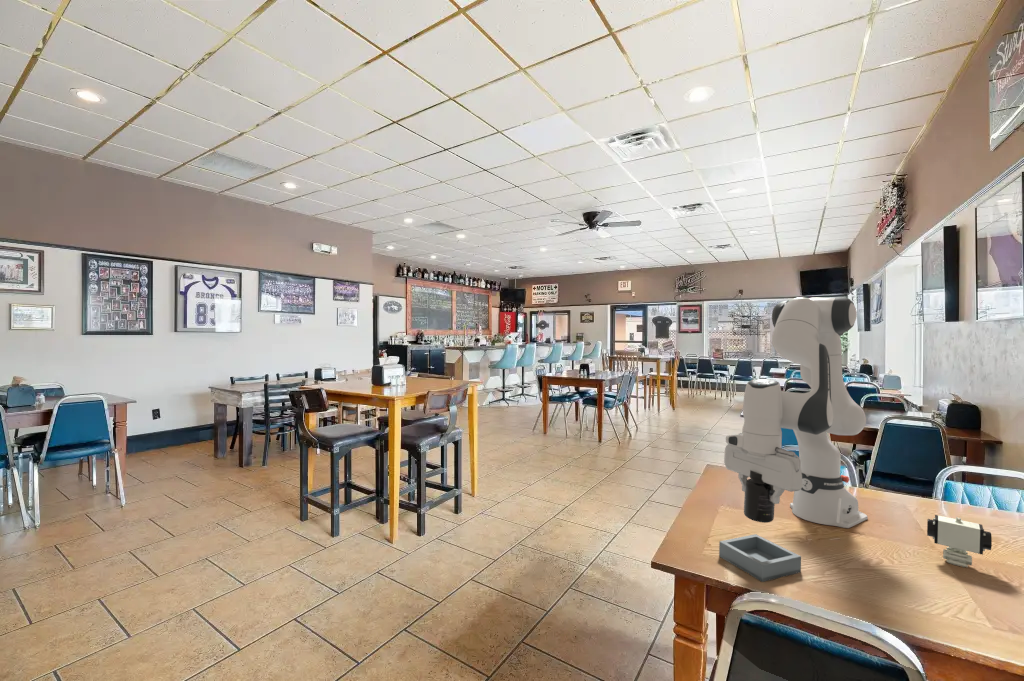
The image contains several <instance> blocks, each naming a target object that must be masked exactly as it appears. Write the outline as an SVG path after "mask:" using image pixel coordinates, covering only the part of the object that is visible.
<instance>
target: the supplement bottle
mask: <svg viewBox="0 0 1024 681" xmlns="http://www.w3.org/2000/svg"><path fill="white" fill-rule="evenodd" d="M774 492H775V490H773V485H770V484H767V483H764V482H763V480H762V474H759V473H757V472H754V471H752V470H750V477H749V479H748V478H747V481H746V482H745V492H744V495H743V496H744V497H743V498H744V499H743V501H744V502H743V513H744V514H743V515H744V516H745V517H746V518H748V519H749V520H751V521H753V522H757V523H763V524H765V523H766V524H767V523H771V522H773V521H774V519H775V506H776V504H774V503H771V502H770V501H769V499H770V498H769V495H773V494H774Z"/></svg>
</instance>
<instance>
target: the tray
mask: <svg viewBox="0 0 1024 681" xmlns="http://www.w3.org/2000/svg"><path fill="white" fill-rule="evenodd" d="M718 543H719V544H718V545H719V547H718V548H719V550H718V556H720V557H719V558H720V559H723V560H725V561H726V562H728V563H730V564H731V565H733V566H734V567H737V568H738V569H740V570H741V569H742V570H741V571H743V572H744V573H746V572H747V574H748V573H749V574H748V575H749V576H751V577H753V578H755V579H756V580H757V581H760V582H761V583H764V582H767V581H771V580H776V579H779V578H784V577H788V576H791V575H796V574H800V573H802V556H801V555H800V554H797V553H796V552H794V551H791V550H789V549H787V548H785V547H783V546H781V545H779V544H776V543H775V542H773V541H770V540H768V539H766V538H765V537H762V536H760V535H758V534H755V533H754V534H750V535H744V536H740V537H734V538H730V539H725V540H720V541H719V542H718Z"/></svg>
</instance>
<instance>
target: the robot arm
mask: <svg viewBox="0 0 1024 681" xmlns="http://www.w3.org/2000/svg"><path fill="white" fill-rule="evenodd" d="M856 309H857V308H856V306H855V304H854V302H853V301H852V300H851V299H850V298H848V297H842V296H836V297H810V298H808V297H805V296H804V297H794V298H792V299H789V300H784V301H783V300H782V301H781V302H777V304H776V305H775V306H774V307H773V309H772V313H771V320H772V322H771V323H772V325H773V332H772V336H771V343H772V347H773V349H774V350H775V351H776V353H777V354H779V355H780V356H781V357H782V358H784V359H786V360H788V361H790V362H792V363H796V364H798V365H800V378H801V379H802V381H803V382H805V384H807V385H808V386H809V387H810V391H807V392H803V393H802V392H793V391H783V390H782V387H781V384H780V382H779V381H777V380H774V379H769V378H758V379H755V378H754V379H752V380H750V381H748V382H747V383H746V385H745V390H744V395H743V404H742V415H743V420H744V421H743V422H744V423H743V426H742V433H741V432H740V433H738V434H731V435H727V436H726V437H725V443H726V445H725V447H724V456H723V457H724V458H723V459H724V460H723V462H724V463H723V464H724V466H725V468H726V470H729V471H732V472H734V473H737V474H738V480H739V481H740V483H741V490H742V492H743V493H745V482H746V481H747V480H748V478H750V470H752V471H754V472H757V473H759V474H762V480H763V482H764V483H767V484H770V485H773V490H775V492H774V494H773V495H769V498H770V499H769V501H770V502H771V503H774V504H775V505H779V504H780V501H781V499H780V497H781V496H782V495H783V494H784V492H785V491H788V492H791V493H792V492H793V497H792V502H790V503H789V507H790V508H791V512H792V513H793V515H795V516H796V517H798V518H800V519H803V520H805V521H808V522H811V523H816V524H821V525H826V526H835V527H839V528H842V529H843V528H844V529H850V528H852V527H854V526H856V525H858V524H860V523H862V522H864V521H866V520H868V519H869V518H868V515H867V514H866V513H864V512H862V511H860V510H859V501H858V499H857V497H855V495H853V494H852V493H851V492H850V491H848V490H847V489H846V488H845V485H844V483H846V484H848V483H849V482H850V477H849V476H848V475H844V474H841V458H842V457H841V452H840V450H839V448H838V447H837V446H836V445H835V444H834V443H833V442H832V441H831V440H830V438H829V435H828V434H832V435H836V436H856V435H858V434H859V433H861V432H862V431H863V430H864V428H865V426H866V424H867V416H866V414H865V411H864V410H863V408H862V407H861V406H860V405H859V404H858V403H856V401H855V400H853V398H852V397H851V395H850V393H849V391H848V390H847V387H846V385H845V382H844V378H843V363H842V362H843V359H842V358H843V357H842V356H843V355H842V352H843V351H842V342H841V336H843V335H844V333H846V332H848V331H850V330H851V329H852V328H853V327H854V326H855V323H856V321H857V318H858V316H857V315H858V314H857V313H858V312H857V310H856ZM782 429H785V430H786V429H788V430H793V434H794V435H795V438H796V441H797V445H798V454H796V452H794V451H792V450H787V449H784V448H782V446H783V445H782V443H783V442H782V439H783V432H782Z"/></svg>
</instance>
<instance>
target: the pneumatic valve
mask: <svg viewBox="0 0 1024 681" xmlns="http://www.w3.org/2000/svg"><path fill="white" fill-rule="evenodd" d="M926 536H928V537H932V539H933V543H934V544H937V545H941V546H945V548H944V549H942V553H943V555H942V558H943V559H944V560H945V561H946V563H948V564H949V565H954V566H958V567H961V566H962V567H961V568H965V567H966V568H969V567H968V566H972V565H973V556H972V555H969V554H968V552H970V553H974V554H978V555H983V556H984V552H985V551H986V550H988V551H992V543H993V541H992V540H993V539H992V537H993V536H992V532H991V531H986V530H985V528H984V527H983V524H981V523H976V522H971V521H967V520H963V519H962V518H961V517H955V518H952V517H946V516H944V515H943V516H942V515H937V514H934V517H933V518H932V519H930V518H927V529H926Z"/></svg>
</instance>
